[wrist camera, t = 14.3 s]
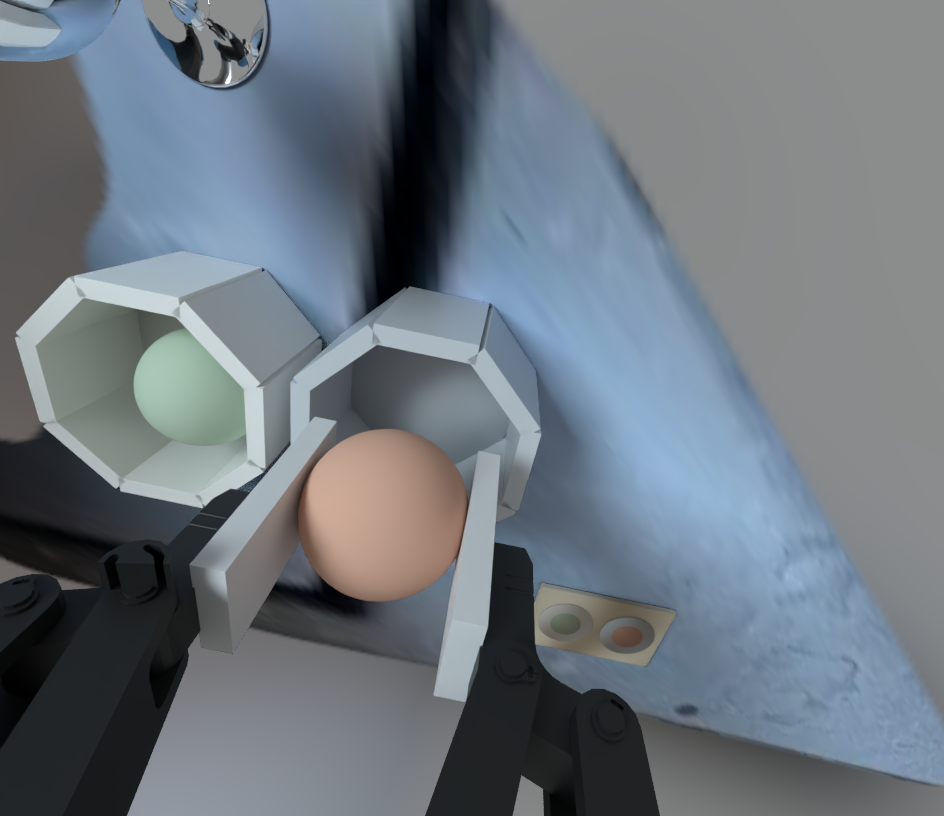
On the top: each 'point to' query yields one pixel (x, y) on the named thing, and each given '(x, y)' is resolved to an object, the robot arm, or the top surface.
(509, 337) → the grey octagonal bowl
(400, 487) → the terracotta ball
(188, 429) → the sage ball
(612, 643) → the card
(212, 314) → the white octagonal bowl
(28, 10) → the wineglass
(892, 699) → the top surface
